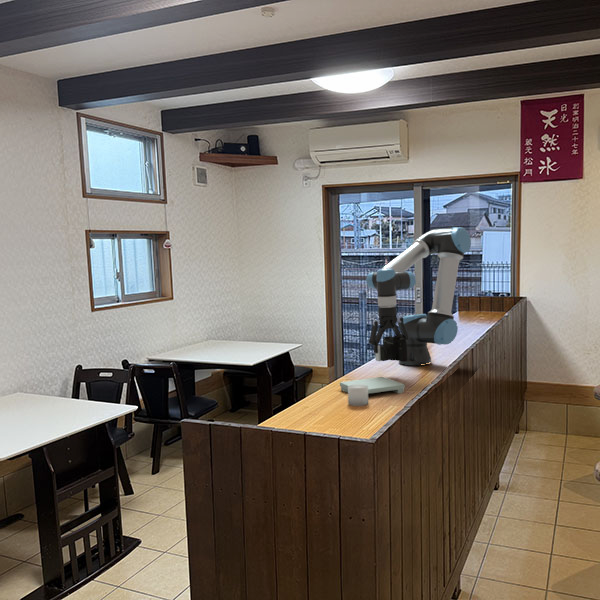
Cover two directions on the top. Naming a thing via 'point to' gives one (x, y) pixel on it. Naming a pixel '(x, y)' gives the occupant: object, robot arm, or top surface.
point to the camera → (393, 348)
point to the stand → (375, 385)
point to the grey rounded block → (358, 395)
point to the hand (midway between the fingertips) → (389, 359)
